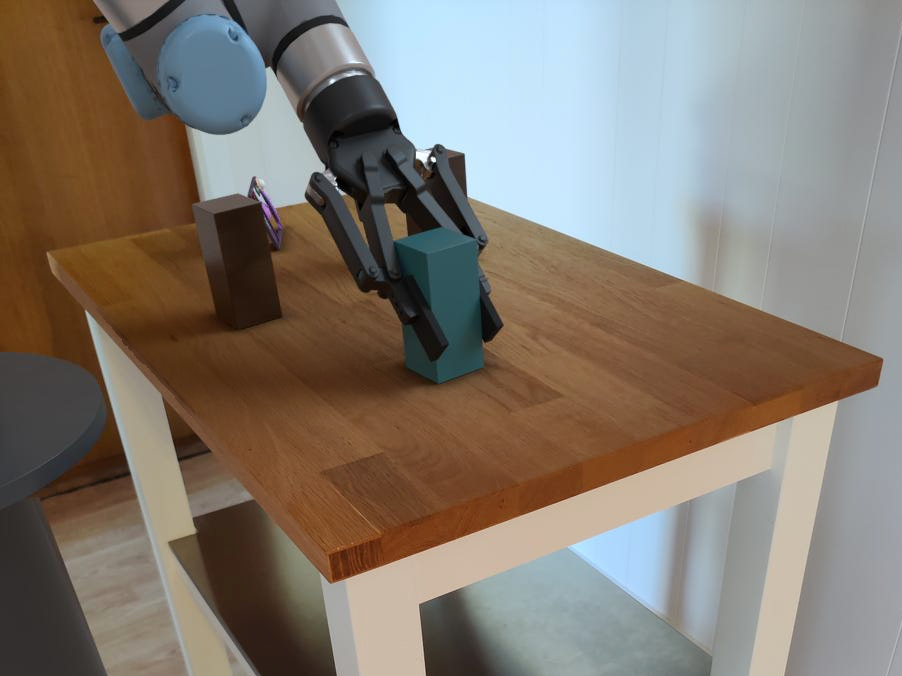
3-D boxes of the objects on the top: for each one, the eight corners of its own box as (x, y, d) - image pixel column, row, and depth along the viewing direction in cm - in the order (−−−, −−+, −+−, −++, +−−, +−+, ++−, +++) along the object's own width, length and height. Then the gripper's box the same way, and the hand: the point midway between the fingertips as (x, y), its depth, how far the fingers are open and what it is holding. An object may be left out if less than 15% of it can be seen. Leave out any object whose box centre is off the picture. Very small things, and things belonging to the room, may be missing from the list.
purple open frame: (255, 191, 114) (260, 172, 121) (215, 211, 114) (223, 191, 121) (285, 246, 118) (288, 225, 125) (246, 265, 118) (251, 243, 125)
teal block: (438, 384, 85) (426, 253, 79) (406, 367, 89) (392, 240, 82) (484, 367, 88) (476, 239, 81) (451, 351, 91) (441, 226, 84)
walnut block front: (238, 330, 98) (213, 214, 91) (216, 317, 101) (190, 203, 95) (282, 316, 100) (261, 202, 94) (260, 304, 104) (238, 192, 97)
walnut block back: (435, 270, 109) (426, 162, 102) (409, 260, 112) (399, 155, 105) (471, 259, 111) (465, 153, 104) (445, 250, 114) (437, 146, 108)
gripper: (413, 114, 92) (530, 336, 91) (236, 152, 83) (364, 395, 83) (441, 53, 85) (569, 292, 84) (252, 88, 77) (391, 352, 76)
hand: (467, 343), depth 84 cm, fingers closed on teal block, 5 cm apart
